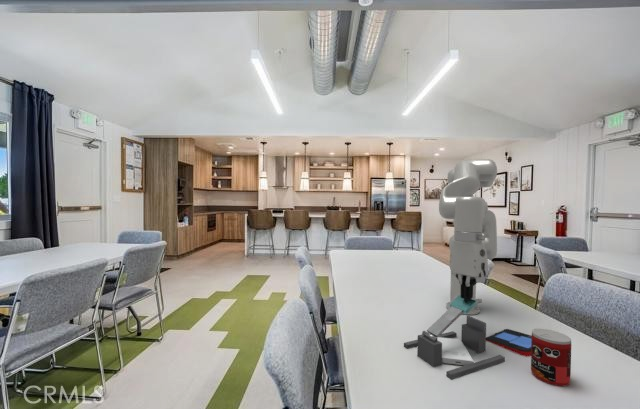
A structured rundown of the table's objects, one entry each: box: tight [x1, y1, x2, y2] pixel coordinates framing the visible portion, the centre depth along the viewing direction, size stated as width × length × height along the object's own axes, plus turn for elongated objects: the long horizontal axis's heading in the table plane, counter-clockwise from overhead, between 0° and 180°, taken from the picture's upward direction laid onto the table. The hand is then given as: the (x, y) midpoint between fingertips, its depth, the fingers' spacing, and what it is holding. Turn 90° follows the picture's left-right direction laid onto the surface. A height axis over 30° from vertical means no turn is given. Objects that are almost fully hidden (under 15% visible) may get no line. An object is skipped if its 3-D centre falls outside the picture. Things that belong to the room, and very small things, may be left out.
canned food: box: [530, 328, 572, 387], centre depth 73 cm, size 8×8×11 cm
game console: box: [486, 328, 532, 357], centre depth 91 cm, size 14×13×2 cm
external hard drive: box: [436, 337, 475, 366], centre depth 83 cm, size 2×8×12 cm
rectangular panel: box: [421, 295, 478, 342], centre depth 83 cm, size 18×6×1 cm, turn 115°
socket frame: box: [403, 315, 506, 380], centre depth 83 cm, size 21×18×9 cm
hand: (466, 298), depth 86 cm, fingers closed
